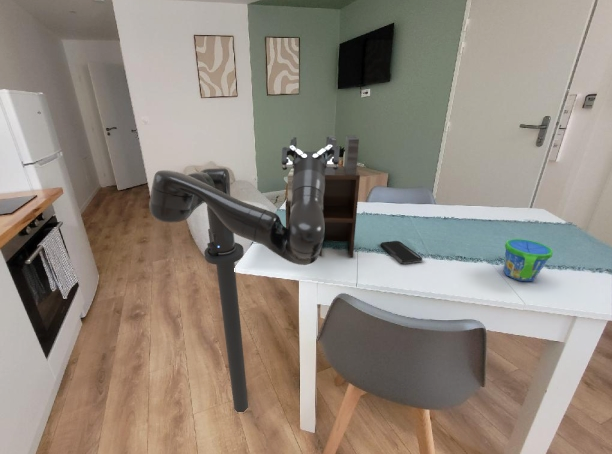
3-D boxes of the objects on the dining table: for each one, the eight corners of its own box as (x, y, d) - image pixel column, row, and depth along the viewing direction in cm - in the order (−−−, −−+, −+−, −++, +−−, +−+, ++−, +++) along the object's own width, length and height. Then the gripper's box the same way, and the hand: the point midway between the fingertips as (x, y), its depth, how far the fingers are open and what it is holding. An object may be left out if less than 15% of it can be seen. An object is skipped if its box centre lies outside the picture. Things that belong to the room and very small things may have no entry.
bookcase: (352, 257, 104) (363, 139, 88) (286, 254, 108) (284, 141, 92) (349, 241, 116) (358, 134, 101) (290, 238, 121) (289, 136, 105)
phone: (398, 240, 112) (423, 259, 98) (398, 243, 113) (423, 261, 99) (379, 242, 111) (402, 261, 98) (379, 245, 112) (401, 264, 98)
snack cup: (541, 294, 81) (554, 262, 77) (494, 281, 87) (504, 251, 83) (541, 270, 91) (552, 241, 87) (499, 260, 98) (508, 233, 94)
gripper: (279, 193, 71) (285, 151, 81) (338, 194, 69) (338, 150, 78) (276, 170, 65) (283, 128, 75) (341, 170, 63) (340, 126, 72)
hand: (311, 139), depth 77 cm, fingers open, 8 cm apart
